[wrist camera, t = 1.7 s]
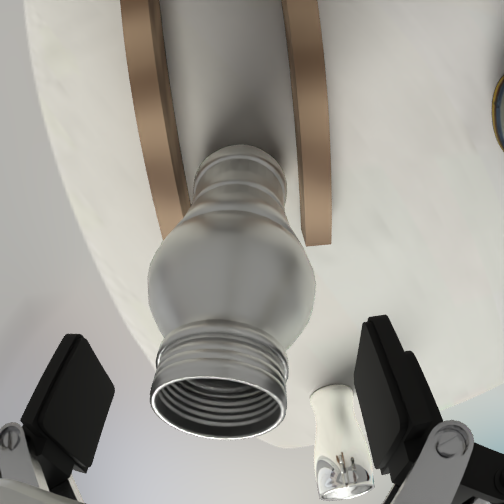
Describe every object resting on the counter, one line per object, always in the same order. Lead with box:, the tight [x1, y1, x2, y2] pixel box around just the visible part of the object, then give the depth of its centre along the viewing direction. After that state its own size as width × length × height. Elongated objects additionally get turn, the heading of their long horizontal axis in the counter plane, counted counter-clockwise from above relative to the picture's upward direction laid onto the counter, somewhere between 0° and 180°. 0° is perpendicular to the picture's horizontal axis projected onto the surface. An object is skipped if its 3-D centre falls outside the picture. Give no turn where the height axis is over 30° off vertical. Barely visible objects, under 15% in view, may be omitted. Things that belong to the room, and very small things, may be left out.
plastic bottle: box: [148, 144, 316, 440], centre depth 16 cm, size 6×7×20 cm
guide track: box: [120, 0, 332, 246], centre depth 18 cm, size 28×13×6 cm, turn 6°
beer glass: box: [310, 384, 375, 501], centre depth 33 cm, size 7×7×15 cm
